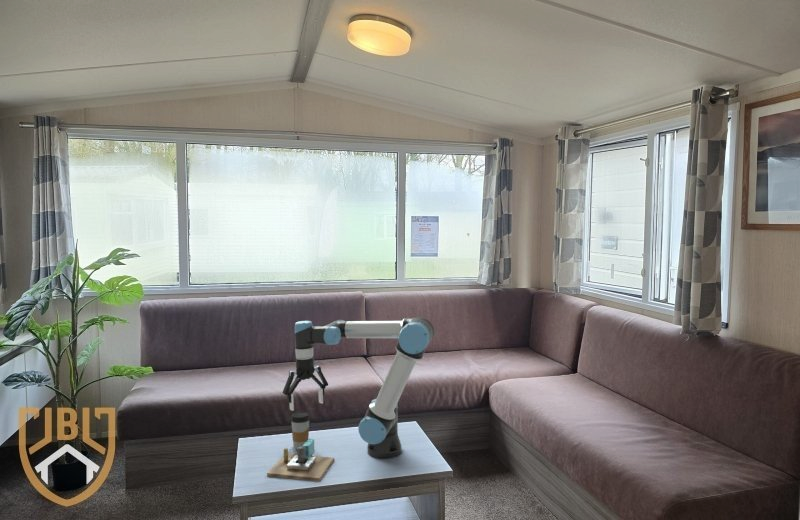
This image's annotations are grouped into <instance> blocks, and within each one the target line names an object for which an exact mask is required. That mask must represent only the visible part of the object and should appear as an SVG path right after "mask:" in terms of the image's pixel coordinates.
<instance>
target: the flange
mask: <svg viewBox="0 0 800 520" xmlns="http://www.w3.org/2000/svg"><path fill="white" fill-rule="evenodd" d="M303 446H304V447H305V462H306V463H305V464H301V463H298V454H296V455H295V456H294V458H293V459H292V460H291V461H290V462H289V463H288V464H287V469H297V470H309V469H310V468H311V466H312V465H313V464H314V462H315V461H316V457H311V456H314V454H315V438H308V440H307V441H306V442H305V443H304V445H303Z"/></svg>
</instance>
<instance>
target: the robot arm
mask: <svg viewBox="0 0 800 520" xmlns="http://www.w3.org/2000/svg"><path fill="white" fill-rule="evenodd" d="M434 336H435V328H434V325H433V323H432V322H431V321H430V320H429V319H427V318H425V317H409V318H405V317H404V318H403V319H402V320H351V321H350V320H348V321H347V320H343V319H336V320H334V321H332V322H331V323H328V324H325V325H324V326H322V325H321V326H319V325H317V326H316V325H315V326H314V325H313V322H312V321H311V320H300V321H297V322H295V323H294V342H295V343H294V345H295V346H294V347H295V350H294V352H295V370H289V371H288V377H287V379H286V382H285V385H284V388H283V390H282V394H283V395H285V396H286V398H287V400H286V401H287V403H288V404H289V410H290V411H292V412H293V411H295V405H294V403H295V402H294V400H295V399H294V395H293V393H294V392H295V390H296V389H297V387H298V385H299V383H301V381H306V380H310V379H312V380H313V382H315V384H317V385H318V386H319V387H318V389H317V390H318V391H317V392H318V403H319V404H322V405H323V404H324V397H323V396H325V389H326V387H328V386H329V382H328V381H327V379H326V377H325V375H324V374H323V371H322V367H321V366H319V365H316V366H314V365H315V362H314V361H315V359H314V345H328V346H332V345H338V344H339V343H340V342H341V339H398V340H397V342H396V345H395V350H396V353H395V357H394V358H393V361H392V363H391V364H390V367H389V370H388V372H387V374H386V377H385V379H384V381H383V382H382V385H381V387H380V390H379V392H378V395H377V397H376V398H375V399H372V400H371V402H370V403H369V406H368V408H367V410H366V412H365V415H364V417H363V418H362V419H361V420H360V422H359V424H358V429H357V430H358V434H359V436H360V438H361V439H362V440H363V441H364V442H365V443H367V447H366V448H367V450H366V451H367V454H368V455H369V456H371V457H374V458H377V459H390V458H395V457H397V456H399V455H400V454H401V453H402V451H403V450H402V443H401V440H400V436H399V432H398V430H399V429H398V426H399V425H398V421H399V419H398V415H399V413H398V412H399V411H398V409H399V407H398V405H399V404H398V402H399V401H400V398H401V396H402V394H403V391H404V389H405V388H406V387H405V386H406V385H407V383H408V381H409V378H410V376H411V374H412V372H413V370H414V367H415V365H416V363H417V361H420V360H422V359H423V356H424V354H425V352H426V350H427V348H428V346H429V344H430V343H431V341H433V339H434ZM315 372H316V373H317V375H318V377H319V378H317V377H316V375H315ZM294 378H295V379H294ZM320 380H321V381H320Z"/></svg>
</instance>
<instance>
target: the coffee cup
mask: <svg viewBox="0 0 800 520" xmlns="http://www.w3.org/2000/svg"><path fill="white" fill-rule="evenodd" d="M310 420H311V418H310V415H309V412H307V411H297V412H293V413H292V414H291V417H290V421H291V422H290V423H291V432H292V443H293V444H292V445H293V449H295V450H296V451H298V447H300V446H303V445H304V443H305V442H306V441H307V440H308V439H309V437H310V436H309V434H310V433H309V432H310Z"/></svg>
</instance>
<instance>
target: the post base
mask: <svg viewBox="0 0 800 520" xmlns="http://www.w3.org/2000/svg"><path fill="white" fill-rule="evenodd" d="M295 455H298V463H301V464H305V463H306V462H305V447H304V446H300V447H298V450H297V454H294V453H289V448H287V447H286V448H285V447H284V448H283V456H282V457H280V458H279V460H278V461H277V462H276V463H275V464H274V465H273V466H272V467H271V468H270V469H269V470H268V472H267V473H266V476H267V477H270V478H271V477H272V478H281V479H282V478H284V479H295V480H306V481H315V482H321V480H322V479H323V478H324V476H325V475H326V473H327V472H328V470H329V469H330V468H331V466H332V465H333V463H334V462H335V457H328V456H319V455H312V456H311V457H316V461H315V462H314V464H313V465H312V466H311V468H310V469H309V470H297V469H287V464H288V463H289V462H290V461H291V460H292V459H293V458H294V456H295Z"/></svg>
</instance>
